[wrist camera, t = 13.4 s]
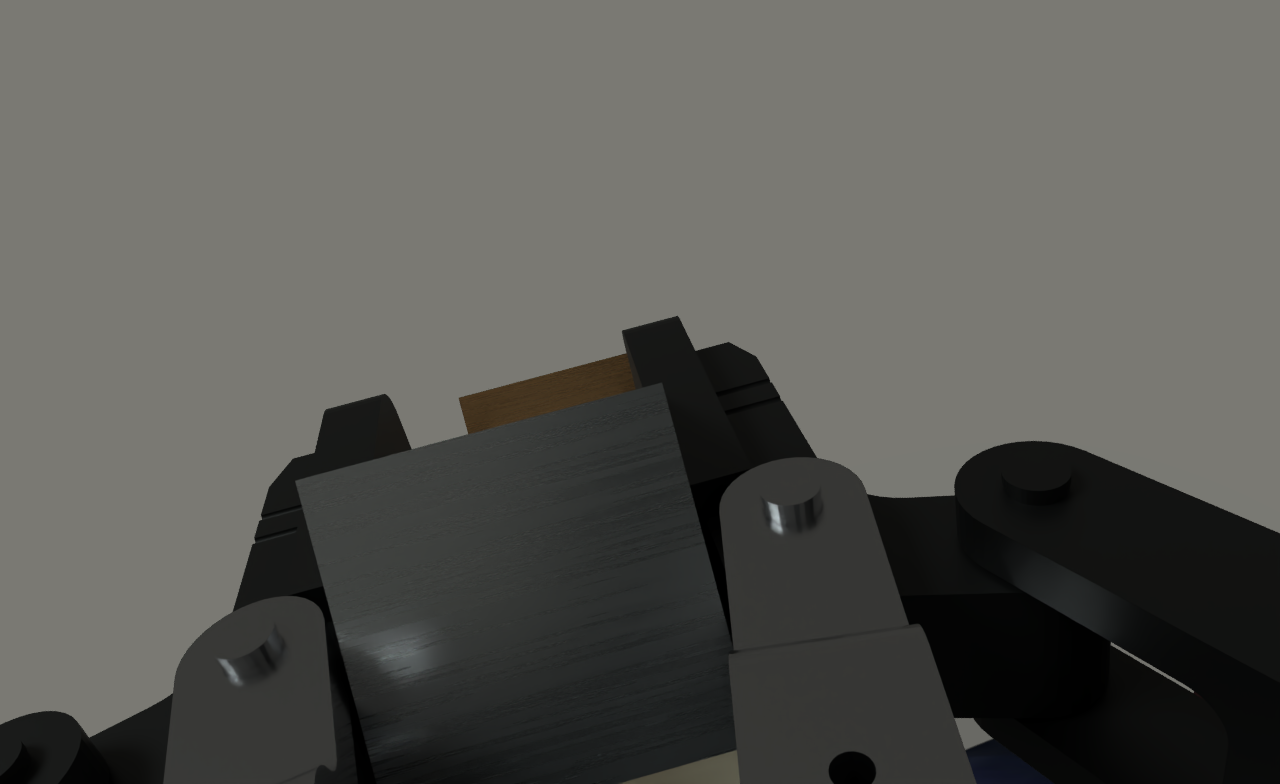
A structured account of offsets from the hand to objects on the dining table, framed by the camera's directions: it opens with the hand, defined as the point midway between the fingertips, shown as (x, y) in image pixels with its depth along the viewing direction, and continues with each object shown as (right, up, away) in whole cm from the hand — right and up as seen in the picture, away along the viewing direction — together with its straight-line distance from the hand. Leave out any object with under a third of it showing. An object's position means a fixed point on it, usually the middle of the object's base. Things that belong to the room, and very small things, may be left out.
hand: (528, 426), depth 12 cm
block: (+1, -3, +5) cm, 5 cm away
